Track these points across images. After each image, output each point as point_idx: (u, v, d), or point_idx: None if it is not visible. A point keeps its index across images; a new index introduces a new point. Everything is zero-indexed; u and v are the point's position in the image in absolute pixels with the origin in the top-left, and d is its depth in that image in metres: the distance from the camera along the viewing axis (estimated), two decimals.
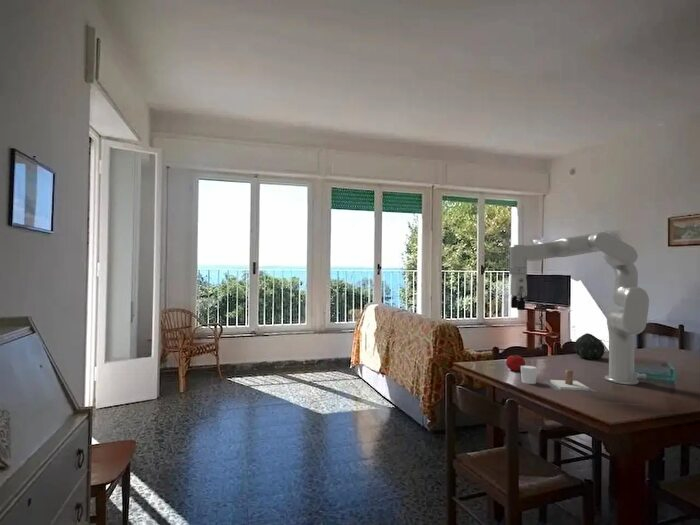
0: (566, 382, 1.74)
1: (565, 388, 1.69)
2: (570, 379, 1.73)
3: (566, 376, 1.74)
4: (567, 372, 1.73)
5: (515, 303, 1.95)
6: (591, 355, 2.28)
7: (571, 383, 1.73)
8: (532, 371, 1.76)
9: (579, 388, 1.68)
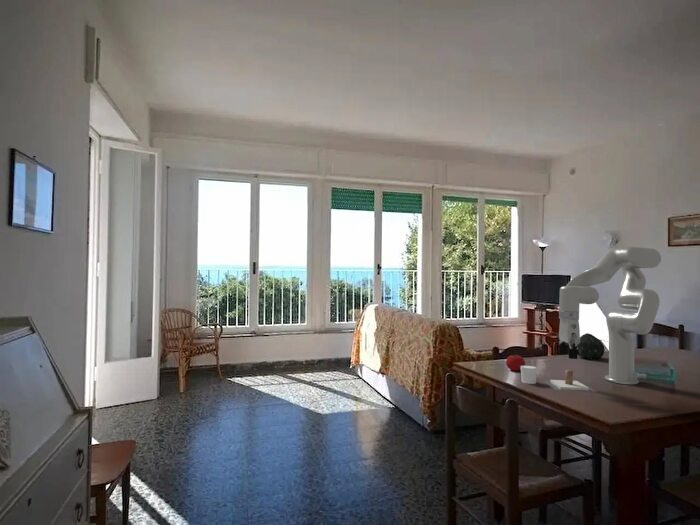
0: (566, 382, 1.74)
1: (565, 388, 1.69)
2: (570, 379, 1.73)
3: (566, 376, 1.74)
4: (567, 372, 1.73)
5: (564, 349, 1.78)
6: (591, 355, 2.28)
7: (571, 383, 1.73)
8: (532, 371, 1.76)
9: (579, 388, 1.68)
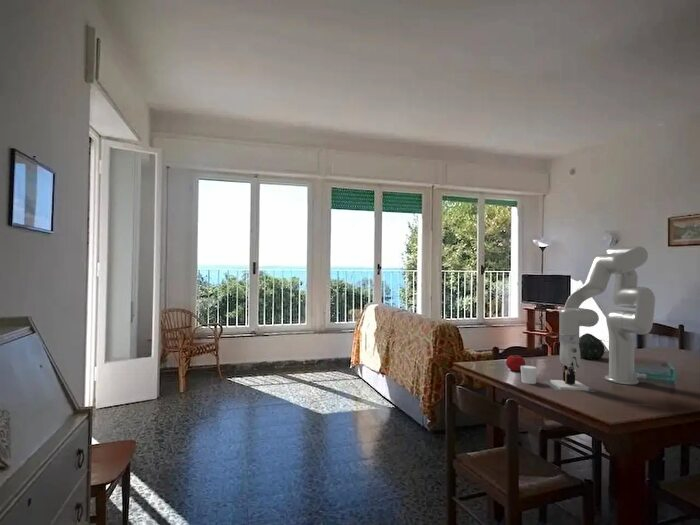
0: None
1: (565, 388, 1.69)
2: None
3: (566, 376, 1.74)
4: None
5: None
6: (591, 355, 2.28)
7: None
8: (532, 371, 1.76)
9: (579, 388, 1.68)
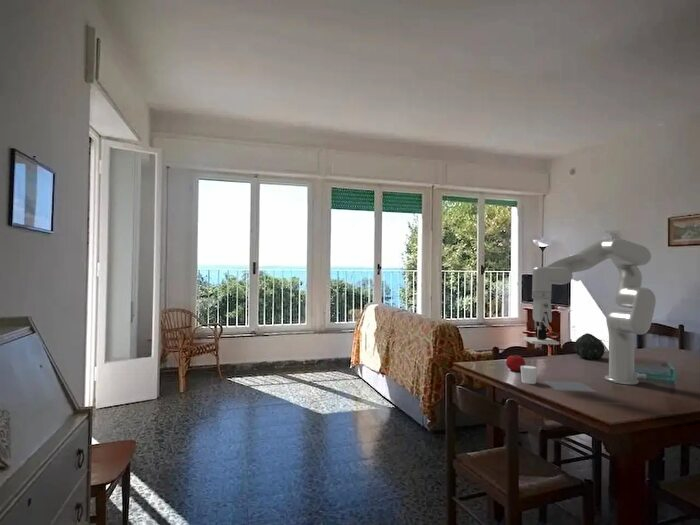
0: None
1: (536, 342, 1.73)
2: None
3: None
4: (538, 327, 1.77)
5: None
6: (591, 355, 2.28)
7: None
8: (532, 371, 1.76)
9: (550, 342, 1.72)
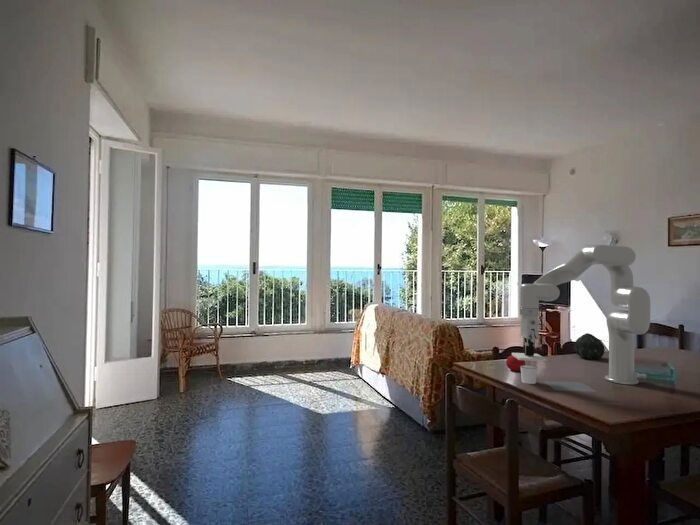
0: (525, 354, 1.79)
1: (523, 359, 1.75)
2: None
3: None
4: (526, 344, 1.79)
5: None
6: (591, 355, 2.28)
7: None
8: (532, 371, 1.76)
9: (537, 359, 1.74)
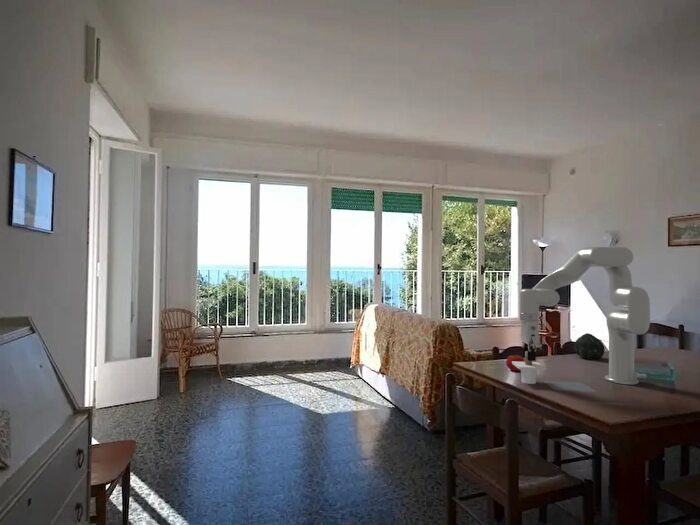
0: (526, 363, 1.79)
1: (524, 368, 1.75)
2: None
3: (526, 357, 1.79)
4: (526, 353, 1.79)
5: None
6: (591, 355, 2.28)
7: (530, 364, 1.78)
8: (532, 371, 1.76)
9: (537, 368, 1.74)
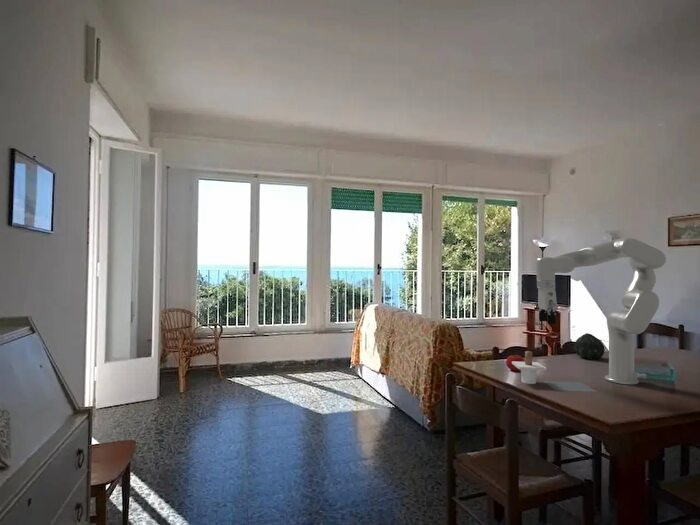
0: (526, 363, 1.79)
1: (524, 368, 1.75)
2: (529, 360, 1.78)
3: (526, 357, 1.79)
4: (526, 353, 1.79)
5: (543, 316, 1.91)
6: (591, 355, 2.28)
7: (530, 364, 1.78)
8: (532, 371, 1.76)
9: (537, 368, 1.74)
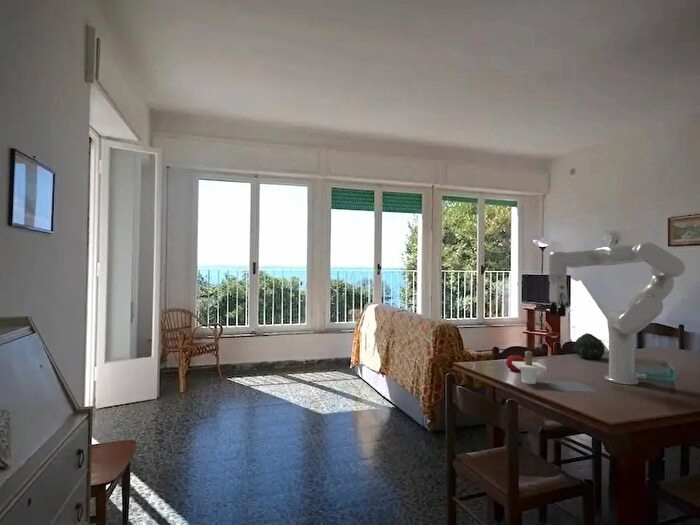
0: (526, 363, 1.79)
1: (524, 368, 1.75)
2: (529, 360, 1.78)
3: (526, 357, 1.79)
4: (526, 353, 1.79)
5: (554, 309, 1.97)
6: (591, 355, 2.28)
7: (530, 364, 1.78)
8: (532, 371, 1.76)
9: (537, 368, 1.74)
